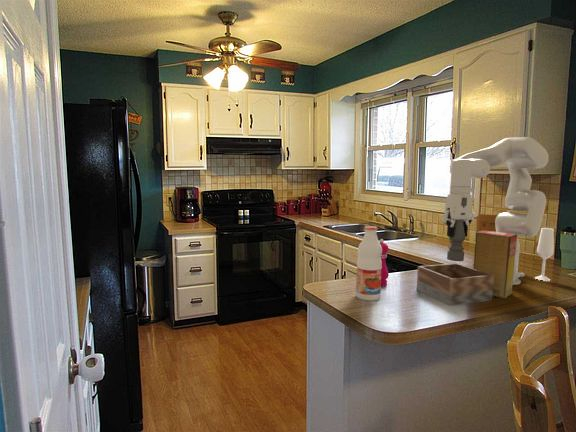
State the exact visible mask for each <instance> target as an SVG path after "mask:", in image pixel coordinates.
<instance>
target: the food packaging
mask: <svg viewBox="0 0 576 432" xmlns="http://www.w3.org/2000/svg"><path fill="white" fill-rule="evenodd" d="M475 233H476V232H475ZM517 238H518V235H517V234H509V233H501V232H493V231H485V230H484V231H479V232H477V233H476V234H475V245H474V254H473V255H474V256H473V257H474V258H473V267H472V268H473V269H476V270H479V271H482V272H485V273H488V274H491V275H494V283H493V295H492V297H495V296H496V297H495V298H501V299H507V297H509V296H511V295H512V293H513V286H514V285H513V274H514V262H515V253H516V242H517Z"/></svg>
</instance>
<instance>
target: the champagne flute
mask: <svg viewBox="0 0 576 432" xmlns="http://www.w3.org/2000/svg"><path fill="white" fill-rule="evenodd" d="M554 231H555V229H554V228H552V227H551V228H550V227H540V234H539V238H538V244H537V247H536V253H537V254H538V256H539V257H540V258H541V259H542V265H541V274H540V275H537V276H535V277H534V278H535V279H534V280H536V279H538V280H537V281H540V280H543V281H542V282H551V281H550V280H551V279H550V278H548V276H546V275H545V274H546V273H545V272H546V262H547V259H549V258H551V257H552V256H553V255H554V254H555V243H554V242H555V240H554V239H555V232H554Z"/></svg>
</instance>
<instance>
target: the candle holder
mask: <svg viewBox="0 0 576 432" xmlns="http://www.w3.org/2000/svg"><path fill="white" fill-rule="evenodd" d="M461 206H463V208H465V207H464V206H467V198H462V202H461ZM461 215H465V213H461ZM453 227H454V237H449V236H448V239H449V241H450V243H451V244H449V246H448V249H447V253H446V254H447V256H446V259H447V260H448V261H451V262H452V261H453V262H464V260H465V252H464V249H465V248H464V246H463V243H464V241H465V240H466V237H465V231H464V225H463V219H460V220H455V223H454V226H453Z"/></svg>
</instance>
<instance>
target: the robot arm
mask: <svg viewBox="0 0 576 432" xmlns="http://www.w3.org/2000/svg"><path fill="white" fill-rule="evenodd" d="M548 162H549V153H548V151H547V149H545V147H543V145H542V144H540V143H539V142H538V141H537V140H535V139H534V138H532V137H529V136H521V137H520V136H519V137H518V136H517V137H505V138H503V139H502V140H499V141H498V142H496V143H494V144H493V145H490V146H489V147H485V148H482V149H480V150H475V151H473V152H469V153H466V154H464V155H462V156H459V157H458V158H456V159H453V160H452V162H451V171H450V182H449V183H450V184H449V185H450V186H449V193H447V196H446V200H445V205H444V212H443V213H444V214H443V215H442V216H441V220H442V221H443V222H444V224H445V226H446V227H447V230H446V236H447V237H448V238H449V237H454V227H453V226H454V223H455V220H460V219H463V225H464V231H465V238H466V237H468V231H469V229H468V228H469V227H470V224H471V223H472V222H473V221H474V220H475V219H476V216H475V215H474V213H473V198H472V194H471V193H472V192H473V188H472V180H473V179H482V178H485V177H487V176H488V175H489V173H490V171H491V168H494V167H498V166H501V165H502V164H504V163H505V165H506V167H507V170H508V173H509V176H510V179H509V185H508V187H507V192H506V196H505V199H504V206H505V207H506V208H507V209H508V210H512V211H518V212H509V211H506V212H500V213H499V214H497V215H498V216H497V217H496V220H495V227H496V232H501V233H509V234H517V236H521V237H522V236H523V237H529V238H530V237H534V236H537V235H538V233H539V231H540V230H541V226H542V221H543V217H544V213H545V211H546V210H545V209H546V206H547V198H546V194H545V193H544V192H543V191H541V190H534V189H531V186H532V184H533V183H532V182H533V179H532V177H531V175H530V173H529V171H528V170H527V169H542V168H545V167H546V166H547V164H548ZM462 198H467V206H464V207H465V208H463V206H461V202H462ZM519 212H527V213H519ZM461 213H465V215H461ZM520 248H521V244H520V241H519V237H517V242H516V253H515V262H514V274H513V285H512V286H519V285H520V284H521V282H522V281H521V280H520V279H519V278H523V277H525V272H520V271H519V272H518V270H519V260H520V259H519V258H520Z"/></svg>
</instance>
